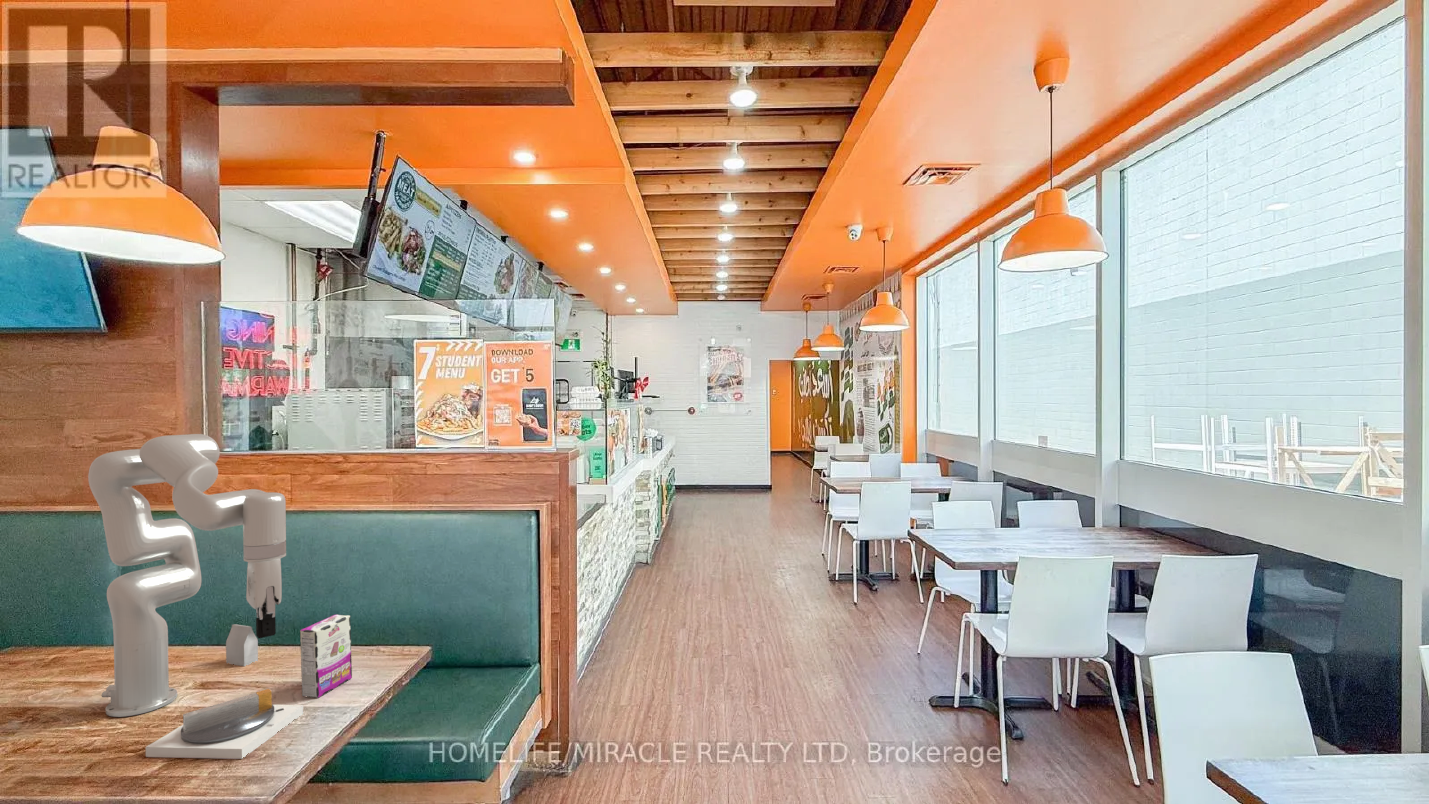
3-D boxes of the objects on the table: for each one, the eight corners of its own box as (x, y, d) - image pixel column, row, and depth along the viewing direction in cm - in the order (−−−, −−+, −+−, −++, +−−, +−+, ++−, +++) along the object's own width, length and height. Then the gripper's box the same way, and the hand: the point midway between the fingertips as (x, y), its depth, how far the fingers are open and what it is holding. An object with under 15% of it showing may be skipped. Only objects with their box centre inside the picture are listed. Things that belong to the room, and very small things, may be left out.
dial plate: (145, 756, 129) (145, 746, 129) (218, 712, 147) (218, 702, 147) (241, 758, 128) (241, 748, 128) (303, 713, 146) (303, 704, 146)
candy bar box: (335, 676, 166) (335, 613, 165) (352, 678, 165) (351, 615, 164) (299, 697, 155) (298, 629, 154) (317, 699, 154) (316, 630, 153)
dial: (188, 753, 126) (188, 729, 126) (174, 725, 137) (173, 703, 137) (283, 721, 138) (283, 700, 138) (263, 698, 149) (263, 678, 149)
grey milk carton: (244, 666, 172) (243, 629, 172) (226, 663, 174) (225, 626, 174) (257, 661, 176) (257, 624, 175) (240, 657, 178) (239, 622, 177)
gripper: (237, 547, 141) (238, 631, 141) (250, 560, 130) (251, 650, 130) (278, 542, 146) (278, 622, 146) (293, 554, 135) (294, 640, 136)
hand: (266, 635), depth 138 cm, fingers closed
